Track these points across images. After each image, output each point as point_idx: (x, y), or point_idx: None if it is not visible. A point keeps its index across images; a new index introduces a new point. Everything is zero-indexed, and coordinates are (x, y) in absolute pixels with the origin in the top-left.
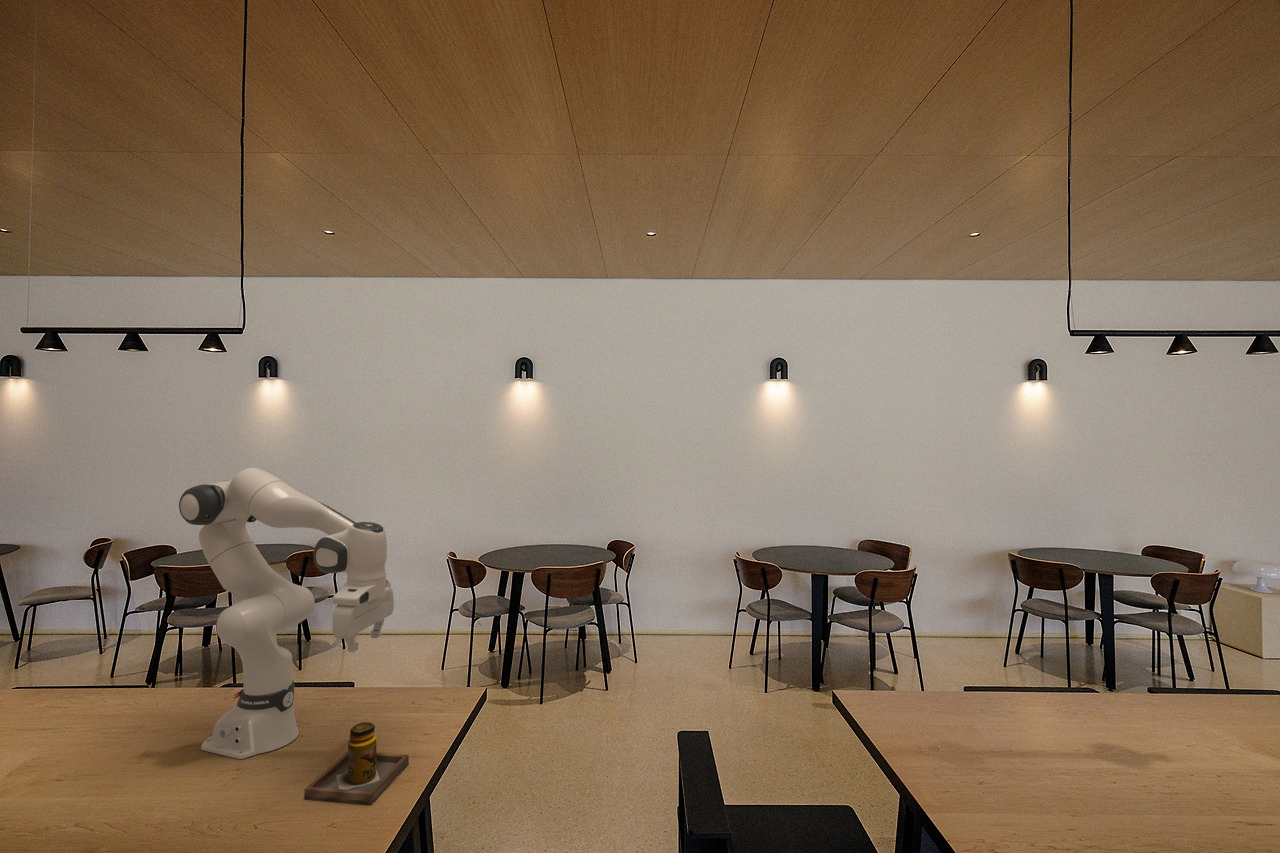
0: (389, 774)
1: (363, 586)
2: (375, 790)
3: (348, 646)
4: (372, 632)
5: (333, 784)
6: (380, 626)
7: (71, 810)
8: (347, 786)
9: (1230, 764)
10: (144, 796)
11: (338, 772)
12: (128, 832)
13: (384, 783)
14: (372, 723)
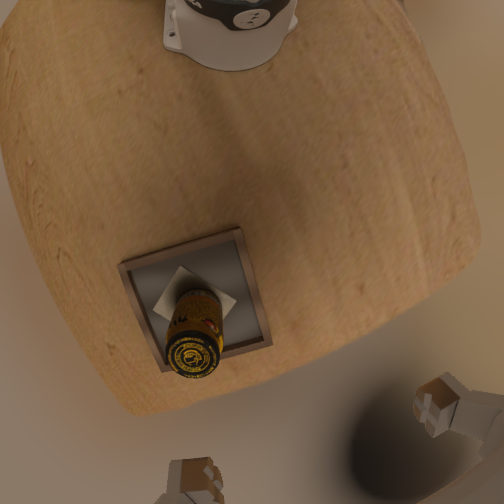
0: None
1: None
2: (172, 370)
3: (169, 484)
4: (434, 411)
5: (162, 280)
6: (469, 434)
7: (30, 18)
8: (168, 309)
9: None
10: (58, 43)
11: (192, 256)
12: (7, 115)
13: None
14: (217, 362)
